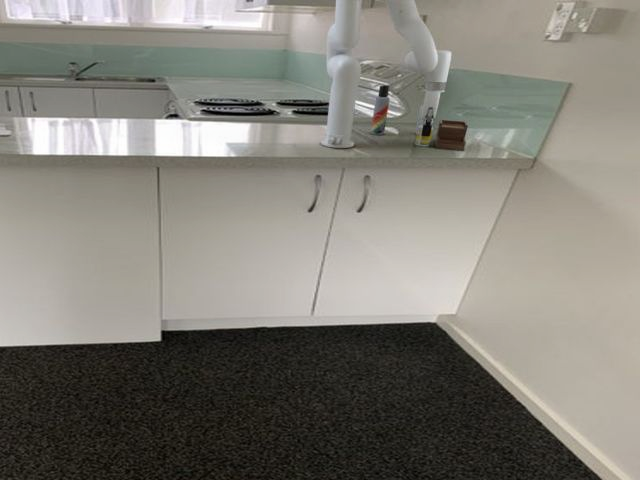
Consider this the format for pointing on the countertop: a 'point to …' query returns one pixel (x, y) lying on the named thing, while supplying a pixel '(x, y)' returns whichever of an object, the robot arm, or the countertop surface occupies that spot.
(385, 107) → the lotion bottle
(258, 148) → the countertop surface
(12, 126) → the countertop surface
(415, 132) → the pale translucent container
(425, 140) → the supplement bottle
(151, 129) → the countertop surface
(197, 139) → the countertop surface
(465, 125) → the spice rack
